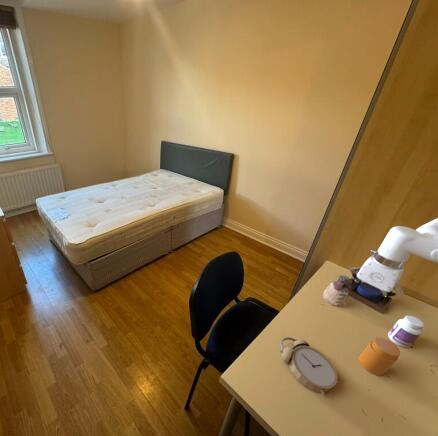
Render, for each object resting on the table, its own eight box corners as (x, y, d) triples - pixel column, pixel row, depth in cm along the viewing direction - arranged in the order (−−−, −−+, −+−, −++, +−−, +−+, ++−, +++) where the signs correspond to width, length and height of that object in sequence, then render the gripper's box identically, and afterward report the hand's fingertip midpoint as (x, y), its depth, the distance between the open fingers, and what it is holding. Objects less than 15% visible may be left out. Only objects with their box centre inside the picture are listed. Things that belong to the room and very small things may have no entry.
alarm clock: (322, 398, 59) (275, 342, 69) (312, 403, 62) (268, 349, 72) (347, 376, 63) (299, 327, 73) (337, 382, 66) (292, 334, 76)
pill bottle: (414, 348, 73) (433, 329, 68) (397, 348, 73) (414, 328, 68) (398, 332, 78) (415, 313, 73) (382, 332, 78) (397, 313, 73)
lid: (353, 290, 91) (356, 286, 89) (360, 283, 94) (362, 279, 93) (375, 302, 86) (378, 298, 85) (381, 294, 89) (384, 290, 88)
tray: (390, 302, 88) (393, 298, 87) (381, 313, 84) (384, 309, 83) (349, 281, 98) (351, 277, 97) (340, 290, 93) (342, 286, 92)
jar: (387, 367, 68) (405, 349, 63) (380, 380, 65) (398, 361, 60) (362, 351, 72) (377, 332, 68) (354, 362, 69) (369, 343, 65)
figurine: (349, 304, 88) (363, 281, 82) (336, 309, 86) (349, 286, 80) (330, 290, 93) (343, 268, 88) (318, 295, 91) (329, 272, 86)
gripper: (355, 250, 86) (336, 285, 95) (420, 278, 73) (391, 315, 82) (363, 243, 90) (344, 277, 98) (426, 269, 77) (398, 305, 86)
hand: (366, 294), depth 90 cm, fingers closed on lid, 6 cm apart
